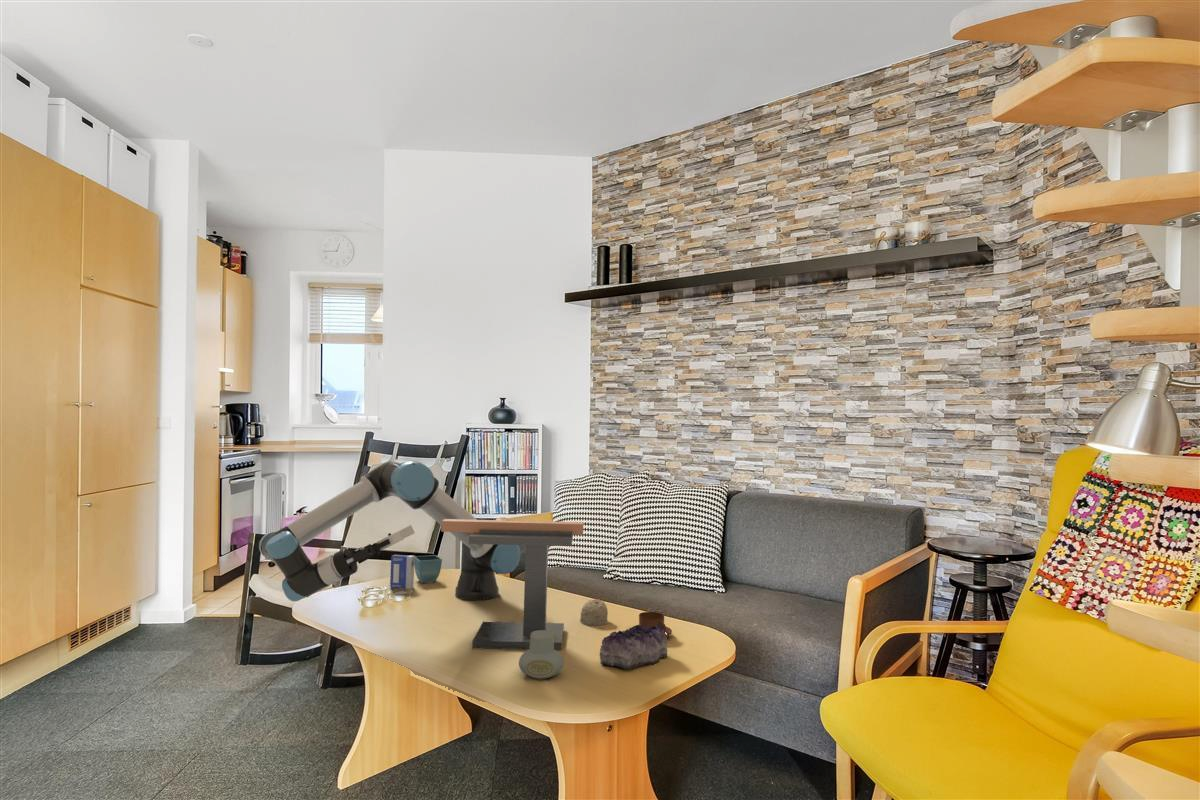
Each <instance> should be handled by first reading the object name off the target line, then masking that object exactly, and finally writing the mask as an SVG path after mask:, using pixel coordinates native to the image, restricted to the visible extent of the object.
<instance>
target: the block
mask: <svg viewBox="0 0 1200 800" xmlns="http://www.w3.org/2000/svg"><path fill="white" fill-rule="evenodd" d="M440 528H441V529H440V531H441V533H442V532H443V533H450V532H478V533H480V529H485V530H528V531H571V532H572V535H573V536H575V535H576V536H583V535H584V522H582V521H548V520H547V521H545V520H544V521H543V520H541V521H540V520H539V521H538V520H537V521H536V520H534V521H533V520H503V519H501V520H500V519H498V520H497V519H477V520H465V519H444V520H442V523H441V527H440Z"/></svg>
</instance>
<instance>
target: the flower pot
mask: <svg viewBox="0 0 1200 800" xmlns="http://www.w3.org/2000/svg"><path fill="white" fill-rule="evenodd" d="M414 556H415V557H414V574H415V575H416V579H418V581H419V582H420V583H423V584H424V583H425V584H426V583H434V582H436V581H437V580H438V578H439V576H440V573H441V570H442V565H443V564H442V563H443V558H441V557H440V556H438V555H436V554H433V555H418V556H416V555H414Z"/></svg>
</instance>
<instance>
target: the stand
mask: <svg viewBox="0 0 1200 800" xmlns="http://www.w3.org/2000/svg"><path fill="white" fill-rule="evenodd" d="M573 537H574V535H572V532H571V531H528V530H485V529H480V533H478V532H473V533H472V534H471V535H470V536H469V544H498V545H519V546H525V560H524V561H525V562H524V590H523V592H524V594H523V622H521V621H520V622H519V621H518V622H517V621H509V622H508V621H482V622H481V625H480V627H479V628H478V630H477V632H476V634H475V635H474V638H473V640H472V649H488V650H491V649H492V650H494V649H495V650H497V649H498V650H529V649H530V634H531V633H532V632H533V631H537V630H547V631H551V632H553V634H554V649H555V650H556V651H562V648H563V640H564V628H565V627H564V626H565V625H564V623H563V622H547V598H548V594H547V593H548V567H549V566H548V565H549V563H548V561H549V547H550V546H553V547H572V545H573Z"/></svg>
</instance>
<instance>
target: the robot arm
mask: <svg viewBox="0 0 1200 800" xmlns="http://www.w3.org/2000/svg"><path fill="white" fill-rule="evenodd" d="M389 497H395V498H398V499H400V500H401V501H402V502H404V503H405V504H406V505H407V506H409V507H410V508H411V509H412V510H422V511H423V512H424V513H425V514H427V515H428V516H429V517H430V518H432V519H433V520H434V521H435V522H437V523H438V524H439V525H441V523H442V520H444V519H465V520H478V518H476V517H475V516H473V515H472V514H471V513H470V512H469V511H467V509H465V508H464V507H463V506H462V505H460V504H459V503H458V502H457V501H456V500H455V499H453V498H452V497H451V496H450V495H449V494H448V493H447V492H445V491H444V490H442V488H440V481H439V480H438V479H437V478H436V477H435V476H434V473H433V471H432V470H431V469H430V468H429V467H428V466H427V465H426V464H424V463H423V462H420V461H418V460H417V461H416V460H404V459H396V458H395V459H390V460H389V461H386V462H384V463H382V464H380V465H378V466H377V467H375V468H374V469H372V470H371V471H369V472H367V473H366V474H364V475H362V476H361V477H360V480H359V482H357V483H355V484H353V485H351V486H350V487H349V488H347V489H346V490H344V491H342V492H341V493H339V494H336V496H334V497H332V498H330V499H329V500H327V501H326V502H323V503H322V504H320V505H318V506H317V507H316V508H314V509H312V510H311V511H308V512H307V513H306V514H304V515H302V516H300V517H299V518H297V519H295V520H294V521H292V522H291V523H289V524H287V525H286V526H284V527H282V528H280V529H279V530H277V531H272V532H270V531H269V532H267V533H266V534H264V535H263V536H262V537H261V539H260V540H259V542H258V549H259V552H260V553H261V555H262V556H263V557H264V558H265V559H267V560H270V561H271V562H272V563H274V564H275V565H276V566H277V567H278V569H279V571H281V573H282V574H283V575H284V578H283V580H282V581H281V587H282V588H281V589H282V591H283V592H284V595H285V597H286V598H287V599H288V600H289V601H291V602H299V601H301V600H303V599H305V598H308V597H312V596H313V595H314V594H316V593H318V592H320V591H321V590H323V589H325V588H327V587H330V586H331V585H334V586H337V585H338V582H340V581H341V580H343V579H344V578H347V577H350V576H353V574H355V573H357V572H358V569H359V568H358V564H361V563H364V562H366V561H367V560H368V559H370V558H371V557H373V556H375V555H377V556H379V555H380V554H382V551H383V550H386V549H388V548H390V547H391V546H394V545H395V544H398V543H399V542H401V541H404V540H405V539H407V538H409V537H410V536H413V535H414V534H416V531H415V530H414V528H413V526H412V525H411V524H410V525H408V526H406V527H404V528H402V529H400V530H398V531H396V532H394V533H392V534H391V532H389V533H387V536H386V537H384V538H382V539H379V540H378V541H376V542H374V543H373V544H371V543H368V544H367V545H365V546H363V547H359V548H357V549H355V550H353V552H352V551H351V550H350V549H348V548H342V549H341V550H339V551H337V552H334V553H333V554H330V555H329V556H327V557H324V558H323V559H320V560H318V561H317V562H315V563H312V561H311V559H310V558H309V556H308V555H307V554H306V553H305V551H304V549H303V548H302V547H303V546H304V545H305V544H307V543H309V542H310V541H312V540H314V539H315V538H317V537H318V536H320V535H322V534H323V533H325V532H327V531H328V530H329V529H331V528H333V527H334V526H336V525H338V524H339V523H341V522H342V521H344V520H345V519H347V518H349V517H351V516H352V515H353V514H355V513H357V512H358V511H360V510H362V509H363V508H365V507H367V506H368V505H370V504H372V503H379V502H381V501H382V500H384V499H386V498H389ZM449 533H450V534H452V535H453V536H454V537H455V538H456V539H458V540H459V541H461V557H460V558H461V565H460V568H461V569H460V574H459V575H460V576H459V579H458V581H457V585H456V586H455V590H454V591H455V593H454V596H455V597H456V598H458V599H462V600H470V601H472V600H473V601H479V600H480V601H481V600H484V601H485V600H490V599H494V598H496V597H498V596H499V591H500V590H499V586H498V583H497V579H496V575H495V574H498V575H507V574H510V573H512V572H513V571H515V569H516V568H517V566H518V565H519V563H520V559H521V548H520V545H498V544H469V536H470V535H471V534H472V533H473V532H449Z"/></svg>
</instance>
